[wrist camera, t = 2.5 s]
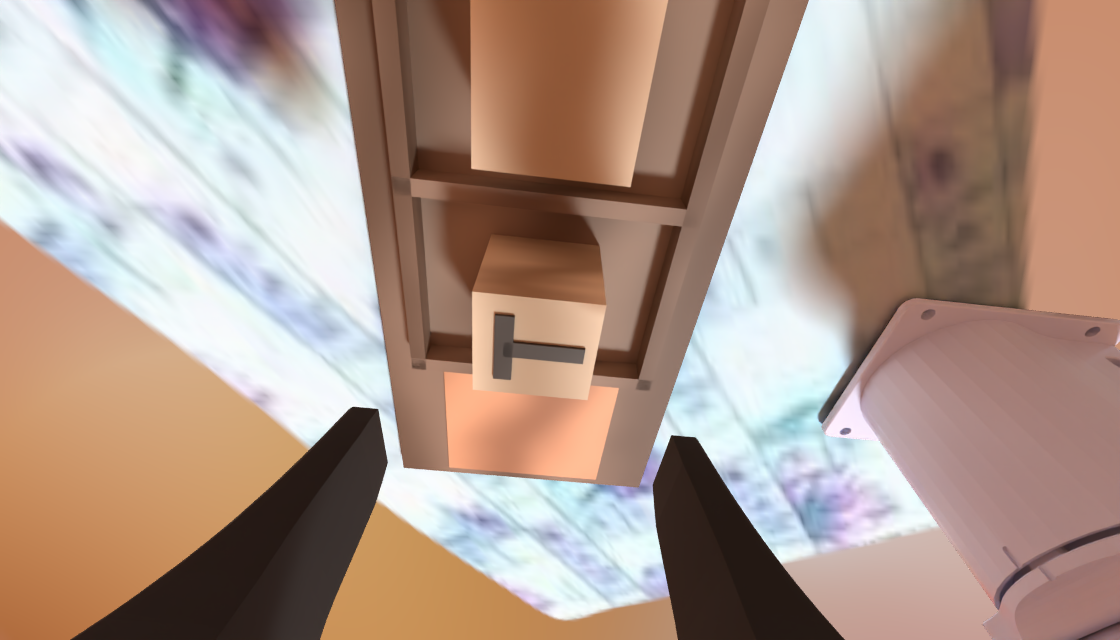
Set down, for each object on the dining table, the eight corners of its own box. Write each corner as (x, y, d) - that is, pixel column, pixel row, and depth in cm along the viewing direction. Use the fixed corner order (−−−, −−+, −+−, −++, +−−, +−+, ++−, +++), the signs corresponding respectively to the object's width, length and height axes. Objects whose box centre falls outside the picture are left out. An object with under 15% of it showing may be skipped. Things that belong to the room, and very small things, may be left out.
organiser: (845, -130, 11) (879, -146, 10) (637, 479, 26) (640, 503, 24) (312, -210, 11) (278, -237, 9) (406, 459, 25) (398, 483, 24)
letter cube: (599, 245, 17) (606, 307, 13) (584, 331, 19) (587, 402, 16) (491, 234, 17) (471, 293, 13) (489, 322, 19) (472, 391, 16)
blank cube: (643, -6, 12) (669, -8, 9) (617, 145, 15) (630, 187, 11) (497, -26, 12) (470, -35, 9) (493, 130, 14) (471, 168, 11)
